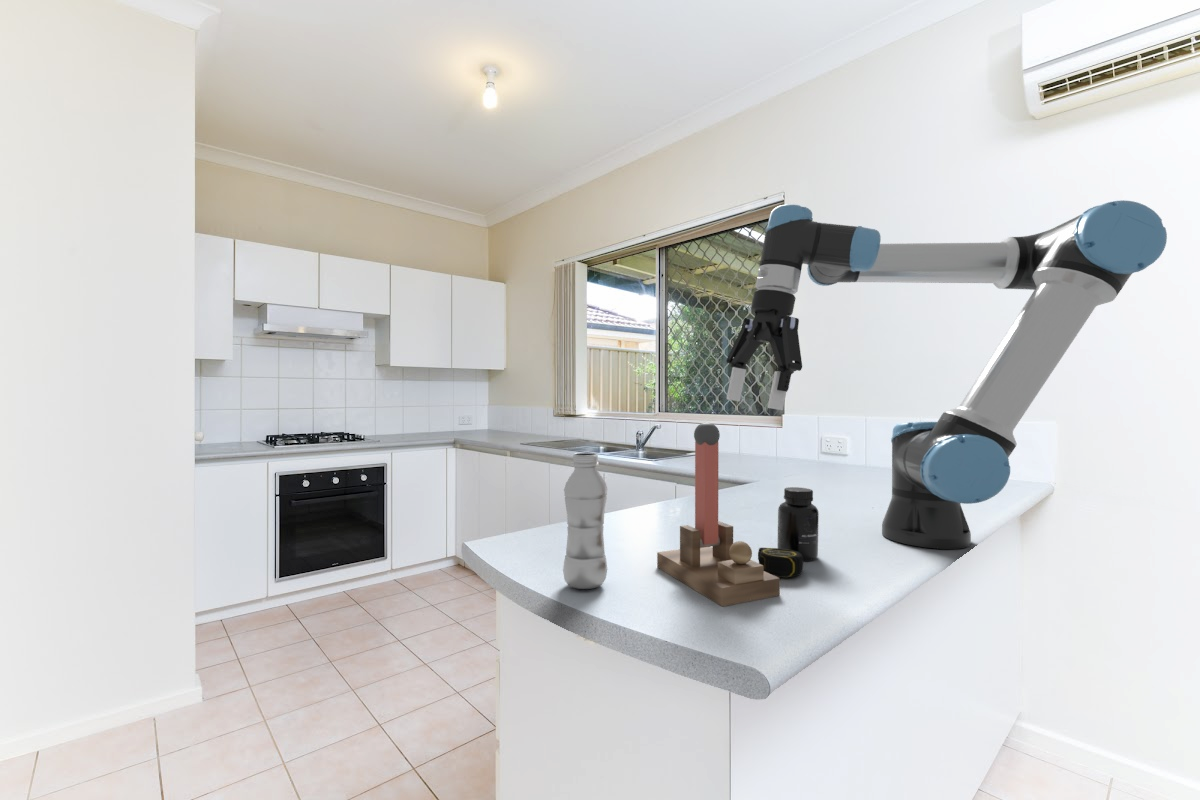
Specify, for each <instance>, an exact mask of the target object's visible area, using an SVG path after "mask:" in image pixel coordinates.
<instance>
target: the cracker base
mask: <svg viewBox="0 0 1200 800" xmlns="http://www.w3.org/2000/svg"><path fill="white" fill-rule="evenodd" d="M718 537H719V539H720V544H719V545H718V546H711V547H704V548H700V530H698V529H696V528H695V527H693V526H691V525H689V524H685V525H680V526H679V549H673V550H672V549H670V550H666V551H657V552H656V553H657V555H656V557H657V558H656V559H657V560H656V561H657V562H656V563H657V568H658V569H659V570H661V571H663V572H664V573H666V574H668V575H669V576H671V577H673V578H675V580H678V581H679V582H681V583H683V584H684V585H686V586H688V587H689V588H691V589H692V590H694V591H696V592H697V593H700V594H701V595H702V596H704V597H705V598H708V599H709V600H711V601H713V602H714V603H716V604H717V605H719V606H721V607H725V606H731V605H737V604H743V603H748V602H753V601H757V600H763V599H768V598H773V597H779V596H781V594H780V593H781V592H780V588H781V587H780V586H781V583H780V582H781V579H780V578H781V577H777V576H774V575H772V574H769V573H767V572H765V571H764V566H763V565H761V564H759V562H757V561H755V560H751V558H752V556H753V551H752V548H751V546H750V545H749V544H748V543H746V542H745V541H741V540H739V541H735V542H734V526H733V525H730V524H728V523H725V522H722V521H720V520H718Z"/></svg>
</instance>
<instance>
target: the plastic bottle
mask: <svg viewBox="0 0 1200 800" xmlns="http://www.w3.org/2000/svg"><path fill="white" fill-rule="evenodd" d="M598 458H599V457H598V453H595V452H578V453H573V456H572V467H574V470H573V471H572V473H571V474H570V476H569V477H568V479H567V481H566V482H565V485H564V489H563V491H564V492H563V493H564V494H563V496H564V502H565V503H564V504H565V510H566V520H567V521H566V523H567V539H566V548H565V549H566V551H565V555H564V561H563V565H562V567H563V568H562V572H563V578H564V579H563V580H564V582H565V583H566V585H568V586H569V587H570V588H573V589H579V590H585V589H586V590H589V589H590V590H591V589H595V588H598V587H601V586H602V585H603V584H604V582H605V581H606V579H607V573H608V562H607V557H606V552H605V551H606V550H605V541H604V539H605V538H604V524H605V523H604V522H605V512H606V504H607V499H608V498H607V496H608V486H607V482H606V481H605V479H604V477H603V476H602V475H601V474H600V472H599V471H598V467H599V466H600V465H599V462H598V461H599V460H598Z"/></svg>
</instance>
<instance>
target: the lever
mask: <svg viewBox="0 0 1200 800" xmlns="http://www.w3.org/2000/svg"><path fill="white" fill-rule="evenodd" d="M720 436H721V435H720V430H719V428H718V427H717V425H715V424H714V423H712V422H701V423H700V424H698V425H697V426H696V427H695V429H694V432H693V437H694V438H693V439H694V441H695V442H694V443H695V444H694V445H695V446H694V447H695V448H694V449H695V450H694V459H695V461H694V463H695V464H694V466H695V467H694V479H695V480H694V488H695V489H694V512H695V513H694V528H696V529H698V530H700V548H704V547H713V546H718V545H719V544H720V539H719V537H718V522H719V440H720V438H721V437H720Z"/></svg>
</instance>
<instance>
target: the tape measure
mask: <svg viewBox="0 0 1200 800" xmlns="http://www.w3.org/2000/svg"><path fill="white" fill-rule="evenodd" d="M757 560H758V563H759V564H761V565H763V566H764V571H765V572H767V573H769V574H772V575H774V576H776V577H778V578H790V577H791V578H793V577H797V576H799V575H802V573H803V568H804V561H803V557H802V555H801V554H800V553H799V552H797V551H794V550H788V549H780V548H777V547H774V548H773V547H759V548H758V552H757Z"/></svg>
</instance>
